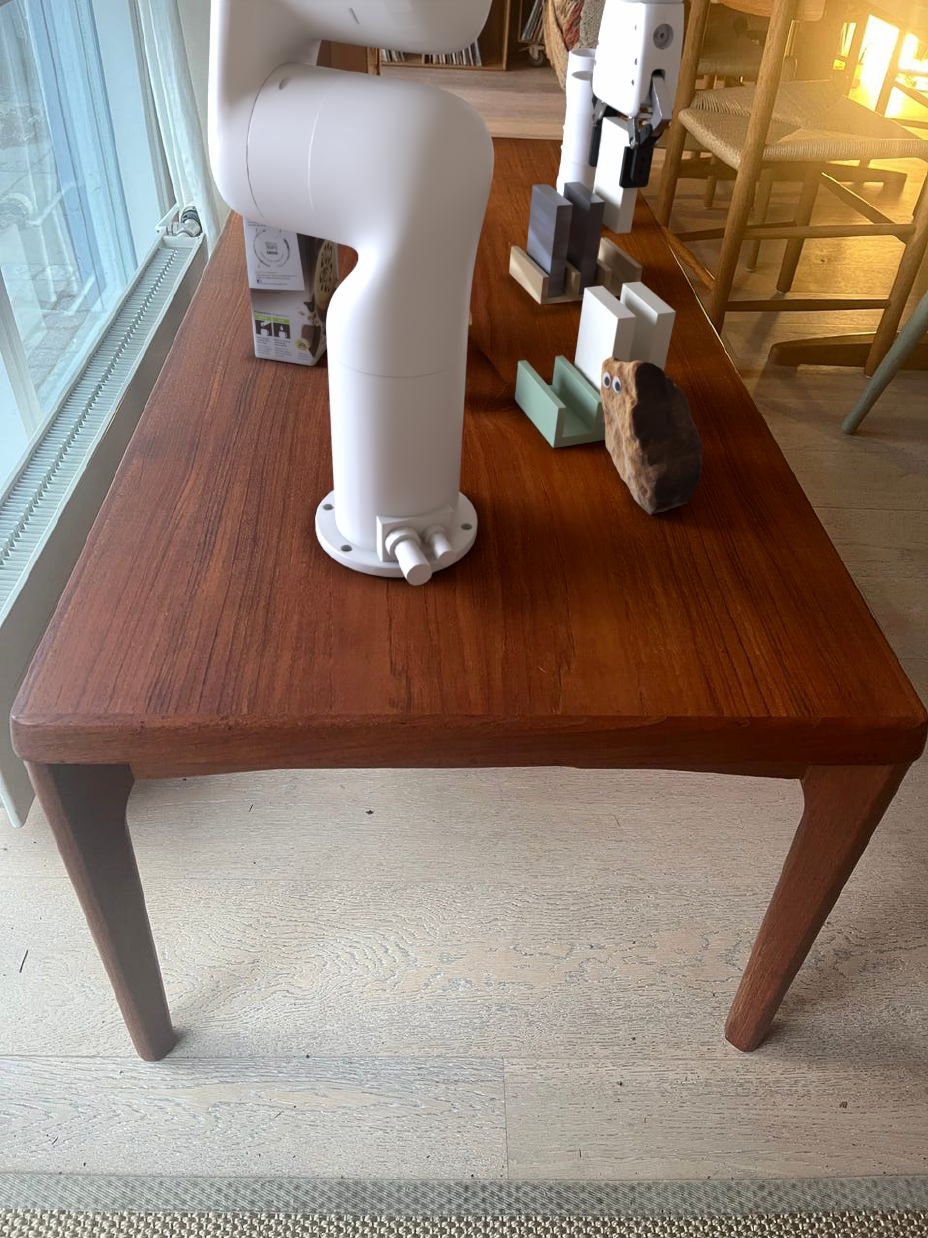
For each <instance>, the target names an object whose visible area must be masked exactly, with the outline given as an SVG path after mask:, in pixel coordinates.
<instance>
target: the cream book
mask: <svg viewBox="0 0 928 1238" xmlns="http://www.w3.org/2000/svg"><path fill="white" fill-rule="evenodd" d="M640 130H641V129H639V131H640ZM625 146H629V134H628V121H626V120H625V119H622V118H621V117H620V118H619V117H604V118H603V124H602V131H601V138H600V146H599V153H598V160H597V168H596V175H595V182H594V189H593V193H594V194H596V195H597V196H598V197H600V198H601V199H602V200H603V201H605V207H604V214H603V221H602V225H604V226H606V227H607V228H608V229H610V230H611V231H612V232H613V233H615V234H616V235H617V234H630V233H631V232H632V225H633V220H634V213H635V208H636V201H637V196H638V190H639V188H625V189H623V188H621V187H620V186H619V179H620V173H621V166H622V160H623V153H624V147H625Z"/></svg>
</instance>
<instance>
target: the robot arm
mask: <svg viewBox="0 0 928 1238" xmlns="http://www.w3.org/2000/svg"><path fill="white" fill-rule="evenodd" d="M492 2H493V0H210V26H209V27H210V28H209V54H208V55H209V58H208V59H209V60H208V87H207V88H208V92H207V143H208V155H209V156H208V157H209V162H210V169H211V173H212V177H213V180H214V182H215V185H216V188H217V190H218V192H219V194H220V196H221V197H222V200H224V202H225V203H226V205H227V206H228V207H229V208H230V209H232V210H233V211H234V212H235V213H236V214H237V215H239V216H241V217H242V218H243V217H244V218H246V219H248V220H251V221H253V222H257V223H260V224H263V225H267V226H270V227H275V228H279V229H282V230H287V231H291V232H296V233H300V234H305V235H309V236H313V237H318V238H322V239H327V240H331V241H333V242H336V243H337V244H339V245H343V246H347V247H350V248H352V250H354V251H356V253H357V255H358V256H357V257H358V258H357V259H358V260H357V262H356V265H355V266H354V267H353V270H352V271H351V272H350V273H349V274H348V275H346V277H345V278H344V279H343V281H342V282H341V283H339V287H338V288H337V290H336V291H335V293H334V295H333V297H332V299H331V301H330V304H329V308H328V312H327V319H326V335H327V348H326V350H327V352H326V353H327V370H328V371H327V372H328V373H327V374H328V392H329V412H330V433H331V434H330V435H331V452H332V453H331V454H332V455H331V456H332V474H333V475H332V476H333V490H331V491H330V492H329V493H328V494H327V495H326V496H325V497H324V498H323V499H322V500H321V502H320V503H319V505H318V507H317V509H316V514H315V521H314V522H315V533H316V536H317V540H318V542H319V544H320V546H321V547H322V549H323V550H324V551H325V553H327V554H328V555H329V556H330V558H332V559H334V560H335V561H336V562H337V563H339V564H341V565H343V566H345V567H347V568H349V569H352V570H353V571H357V572H359V573H364V574H367V575H370V576H378V577H384V578H405V579H406V581H407V583H408V584H409V585H412V586H422V585H423V584H426V583H427V582H428V581H429V580H430V579H431V578H432V575H433V573H435V572H438V571H441V570H443V569H446V568H448V567H449V566H452V565H453V564H455V563H456V562H458V561H460V560H461V559H463V557H464V556H465V555H467V553H468V552H469V551H470V549H472V547H473V545H474V543H475V540H476V539H477V538H476V537H477V535H478V533H477V532H478V531H477V530H478V516H477V511H476V509H475V508H474V505H473V504H472V502H471V501H470V500H469V499H468V497H467V496H466V495H464V494H463V493H462V492H461V491H460V487H461V485H460V483H461V465H462V448H463V431H464V429H463V428H464V411H465V393H466V377H467V376H466V375H467V360H468V359H467V357H468V340H469V339H468V337H469V325H470V321H469V310H470V311H471V309H470V306H471V297H472V288H473V279H474V271H475V265H476V258H477V253H478V249H479V248H478V247H479V243H480V237H481V233H482V228H483V225H484V220H485V215H486V211H487V207H488V203H489V198H490V194H491V188H492V183H493V177H494V165H495V149H494V142H493V139H492V134H491V132H490V129H489V127H488V125H487V123H486V121H485V120H484V119H483V117H482V116H481V114H480V112H478V111H477V109H476V108H475V107H473V106H472V105H471V104H470V103H469V102H468V101H466V99H465V100H464V99H463V98H462V97H461V96H458V95H457V94H455V93H453V92H451V91H450V92H449V91H448V90H445V89H442V88H440V87H438V86H434V85H430V84H426V83H423V82H419V81H414V80H407V79H402V78H396V77H390V76H385V75H377V74H372V73H366V72H360V71H355V70H352V71H351V70H350V71H349V70H344V69H339V68H333V67H326V66H320V65H317V62H318V57H319V52H320V47H321V43H322V40H323V41H330V42H336V43H342V44H348V45H354V46H360V47H367V48H374V49H379V50H387V51H392V52H401V53H409V54H417V55H432V56H433V55H435V56H445V55H450V54H456V53H459V52H461V51H463V50H466V49H468V48H469V47H470V46H471V45H472V44H474V42H475V41H477V39H479V37H480V35H481V33H482V32H483V29H484V27H485V25H486V22H487V20H488V17H489V14H490V10H491V6H492ZM684 25H685V4H684V0H605V3H604V7H603V12H602V16H601V21H600V26H599V33H598V36H597V37H598V38H597V44H596V48H595V49H596V55H595V63H594V71H593V74H592V75H591V77H590V85H591V90H592V95H593V97H592V104H593V108H594V112H593V115H592V124H593V125H597V126H593V130H592V137H591V145H590V153H589V160H588V164H589V165H590V166H592V167H597V160H598V153H599V146H600V138H601V131H602V124H603V118H604V117H619V118H621V117H622V114H623V115H625V116H626V117H627V122H628V134H629V146H625V147H624V153H623V160H622V166H621V173H620V179H619V186H620V187H621V188H623V189H625V188H638V189H639V188H646V187H648V185H649V181H650V176H651V175H650V174H651V169H652V162H653V157H654V151H655V148H657V147H658V145H659V140H660V138H661V137H662V136H663V134H664V133H665V132H664V131H665V130H666V129H667V128H668V126H669V124H670V123H671V122H672V120H673V111H674V107H675V102H676V98H677V97H676V96H677V91H678V85H679V78H680V71H681V61H682V52H683V41H684V28H685V26H684ZM643 108H646V109H647V111H646V112H644V111H643V112H641V110H640V109H643ZM639 122H646V123H645V124H643V126H642V127H641V128H640V126H639ZM639 130H640V131H639ZM468 324H469V325H468Z"/></svg>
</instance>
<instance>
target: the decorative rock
mask: <svg viewBox="0 0 928 1238" xmlns="http://www.w3.org/2000/svg"><path fill="white" fill-rule="evenodd" d="M666 376H667V377H666ZM674 384H675V382H674V379H673V378H672V377H671V376H669V375H666V373H665V370H664V371H663V370H662V369H661V368H659V367H657V366H656V365H654V364H653V363H648V362H643V361H639V360H637V361H633V362H629V363H628V362H626V361H622V360H619V359H617V358H616V357H609V358H608V359H606V360H605V361H604V362H603V363H602V372H601V390H600V395H601V401H602V406H603V410H604V414H605V423H606V427H605V440H604V441H605V447H606V449H607V451H608V452H609V454H610V456H611V460H612V462H613V465H614V466H615V468H616V471H617V472H618V474H619V476H620V479H622V481H624V483H625V484H626V486H627V487H628V489H629V490H630V494H631V495H632V497H633V499H634V501H635V502H636V503H637V504H638V505H639V506H640V507H641V508H642V509H643V510H644V511H645V512H646V513H647V514H648V515H654V514H658V513H663V512H666V511H668V510H671V509H675V508H676V507H680V506H683V505H684V504H685V505H687V504H688V503H689V502H691V500H692V499H693V498H694V495H693V494H694V493H695V492H696V491H697V490H699V483H700V480H701V476H702V469H703V457H702V449H703V440H702V437H701V435H700V434H699V430H698V427H697V426H696V424H695V423H696V422H695V421H694V420H693V417H692V412H691V409H690V405H689V399H688V397H687V396H686V394H685V391H684V390H683V389H682V388H681V387H679V386H678V385H676V384H675V385H674Z"/></svg>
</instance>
